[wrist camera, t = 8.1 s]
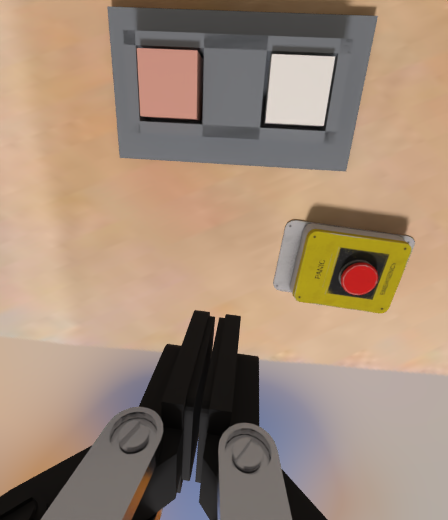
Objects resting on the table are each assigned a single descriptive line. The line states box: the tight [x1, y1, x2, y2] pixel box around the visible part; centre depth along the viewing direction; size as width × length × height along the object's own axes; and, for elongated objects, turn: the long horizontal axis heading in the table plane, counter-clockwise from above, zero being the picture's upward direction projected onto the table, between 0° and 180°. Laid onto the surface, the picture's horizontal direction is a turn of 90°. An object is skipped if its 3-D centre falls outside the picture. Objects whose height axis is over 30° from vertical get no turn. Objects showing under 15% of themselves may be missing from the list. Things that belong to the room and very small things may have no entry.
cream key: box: [264, 54, 335, 127], centre depth 26 cm, size 5×5×3 cm
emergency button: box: [273, 220, 415, 313], centre depth 34 cm, size 9×4×15 cm
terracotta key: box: [137, 48, 203, 121], centre depth 26 cm, size 5×5×3 cm
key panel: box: [108, 7, 378, 171], centre depth 28 cm, size 24×13×4 cm, turn 87°
